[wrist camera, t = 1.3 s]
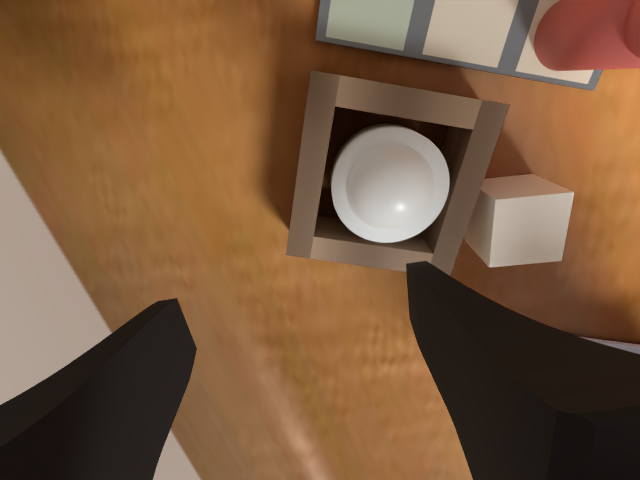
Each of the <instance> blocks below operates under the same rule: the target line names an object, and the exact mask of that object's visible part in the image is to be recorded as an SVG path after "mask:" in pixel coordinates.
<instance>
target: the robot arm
mask: <svg viewBox="0 0 640 480" xmlns="http://www.w3.org/2000/svg"><path fill="white" fill-rule="evenodd" d="M406 272H407V286H408V300H409V314H410V320H411V324H412V327H413V330H414V334H415V337H416V340H417V343H418V346H419V348H420V350H421V353H422V355H423V357H424V359H425V362H426V364H427V366H428V368H429V370H430V372H431V375H432V377H433V379H434V381H435V383H436V385H437V387H438V390H439V392H440V394H441V396H442V398H443V400H444V403H445V405H446V407H447V409H448V411H449V414H450V416H451V418H452V421H453V423H454V426H455V428H456V431H457V434H458V437H459V440H460V443H461V446H462V448H463V451H464V454H465V457H466V460H467V463H468V466H469V469H470V472H471V475H472V478H473V480H640V345H639V344H631V343H623V342H616V341H608V340H601V339H593V338H586V337H578V336H575V335H573V334H570V333H567V332H564V331H561V330H558V329H555V328H552V327H550V326H547V325H545V324H542V323H539V322H537V321H535V320H532V319H530V318H528V317H525V316H523V315H521V314H518V313H516V312H514V311H512V310H510V309H508V308H505V307H503V306H501V305H499V304H498V303H496V302H494V301H492V300H490V299H488V298H486V297H484V296H482V295H481V294H479V293H477V292H475V291H474V290H472V289H470V288H469V287H467V286H465V285H464V284H462V283H460V282H459V281H457V280H456V279H454V278H452V277H451V276H449V275H448V274H446V273H445V272H443V271H442V270H440V269H439V268H437V267H435V266H434V265H432V264H431V263H429V262H428V261H420V262H414V263H407V264H406ZM196 350H197V348H196V346H195V343H194V341H193V338H192V336H191V333H190V330H189V328H188V325H187V323H186V320H185V318H184V315H183V313H182V310H181V308H180V305H179V302H178V300H177V298H176V299H169V300H162V301H158V302H156V303H154V304H152V305H151V306H149V307H148V308H146V309H145V310H143V311H142V312H141V313H139V314H138V315H136V316H135V317H134V318H132V319H131V320H129V321H128V322H127V323H125V324H124V325H123V326H121V327H120V328H119V329H117V330H116V331H115V332H113V333H112V334H111V335H109V336H108V337H106V338H105V339H104V340H102V341H101V342H100V343H98V344H97V345H95V346H94V347H93V348H91V349H90V350H88V351H87V352H85V353H84V354H83V355H81V356H80V357H78V358H77V359H75V360H74V361H72V362H71V363H70V364H68V365H67V366H65V367H64V368H62V369H61V370H59V371H58V372H56V373H54V374H53V375H51V376H50V377H48V378H47V379H45V380H43V381H42V382H40V383H38V384H37V385H35V386H33V387H32V388H30V389H28V390H27V391H25V392H23V393H21V394H20V395H18V396H16V397H14V398H13V399H11V400H9V401H7V402H5V403H3V404H1V405H0V480H153V476H154V473H155V469H156V466H157V463H158V460H159V457H160V454H161V452H162V449H163V446H164V443H165V441H166V439H167V436H168V433H169V431H170V428H171V426H172V423H173V421H174V418H175V416H176V413H177V411H178V408H179V406H180V403H181V401H182V398H183V395H184V393H185V390H186V387H187V385H188V382H189V379H190V376H191V372H192V368H193V364H194V359H195V355H196Z"/></svg>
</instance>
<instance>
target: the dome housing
mask: <svg viewBox="0 0 640 480" xmlns="http://www.w3.org/2000/svg"><path fill="white" fill-rule="evenodd" d="M335 106H336V107H342V108H348V109H354V110H359V111H365V112H371V113H377V114H383V115H389V116H395V117H401V118H407V119H413V120H419V121H425V122H431V123H437V124H443V125H448V130H447V133H446V137H445V140H444V144H443V147H442V151H441V153H442V155H443V157H444V159H445V161H446V163H447V167H448V171H449V182H450V184H449V192H448V196H447V199H446V202H445V205H444V207H443V209H442V210H441V212H440V214H439V215H438V216H437V218H436V219H435V220H434V221H433V222H432V224H431V225H429V226H428V227H427V228H426V229H425V230H423V231H422V232H420V233H419V234H417V235H415V236H413V237H411V238H408V239H406V240H402V241H399V242H392V243H381V242H374V241H370V240H367V239H364V238H362V237H360V236H358V235H356V234H355V233H353V232H352V231H351V230H350V229H348V228H347V227H346V226H345V224H344V223H343V222H342V221H341V219H336V218H329V217H322V216H317V213H318V207H319V201H320V195H321V189H322V183H323V177H324V170H325V164H326V158H327V152H328V146H329V140H330V134H331V128H332V122H333V116H334V110H335ZM509 106H510V105H508V104H502V103H497V102H491V101H485V100H480V99H474V98H468V97H462V96H457V95H451V94H445V93H439V92H434V91H428V90H422V89H417V88H411V87H405V86H399V85H394V84H388V83H382V82H376V81H371V80H365V79H359V78H353V77H348V76H342V75H336V74H331V73H325V72H319V71H313V70H311V72H310V80H309V87H308V95H307V102H306V110H305V117H304V125H303V132H302V140H301V147H300V154H299V162H298V169H297V177H296V184H295V192H294V199H293V207H292V214H291V222H290V229H289V237H288V244H287V252H286V255H288V256H296V257H303V258H310V259H317V260H324V261H331V262H338V263H346V264H353V265H360V266H367V267H374V268H381V269H389V270H396V271H403V272H406V264H407V263H414V262H420V261H428V262H429V263H431V264H432V265H434V266H435V267H437V268H439V269H440V270H442V271H443V272H445V273H446V274H448V275H449V276H450V275H451V272H452V270H453V267H454V264H455V261H456V258H457V255H458V252H459V249H460V247H461V244H462V241H463V238H464V235H465V232H466V229H467V227H468V224H469V221H470V218H471V215H472V212H473V209H474V206H475V204H476V201H477V198H478V195H479V192H480V189H481V186H482V184H483V181H484V178H485V175H486V172H487V169H488V166H489V163H490V161H491V158H492V155H493V152H494V149H495V146H496V143H497V140H498V138H499V135H500V132H501V129H502V126H503V123H504V120H505V118H506V115H507V112H508V109H509Z"/></svg>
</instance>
